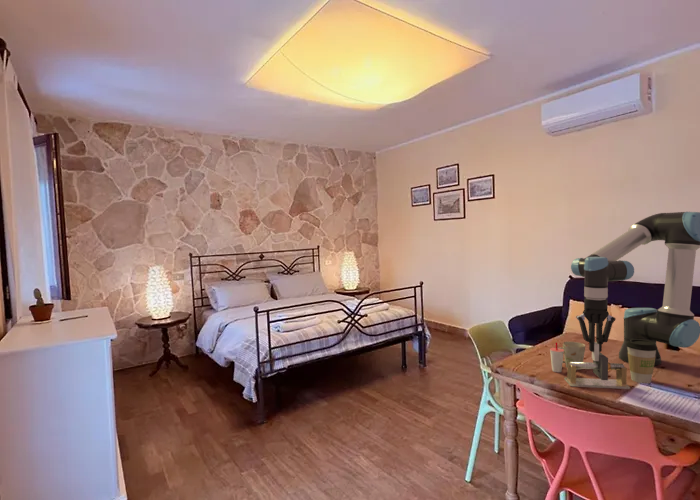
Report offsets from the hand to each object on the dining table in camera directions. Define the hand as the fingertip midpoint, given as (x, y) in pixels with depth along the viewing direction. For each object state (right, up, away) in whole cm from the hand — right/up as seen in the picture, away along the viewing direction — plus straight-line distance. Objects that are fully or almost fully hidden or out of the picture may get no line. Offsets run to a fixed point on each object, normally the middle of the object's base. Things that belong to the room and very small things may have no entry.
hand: (595, 359), depth 152 cm
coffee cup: (+19, -9, +3) cm, 21 cm away
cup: (-7, -9, +15) cm, 19 cm away
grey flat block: (+2, -6, 0) cm, 6 cm away
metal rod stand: (+1, -9, 0) cm, 9 cm away
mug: (0, -9, +19) cm, 21 cm away
